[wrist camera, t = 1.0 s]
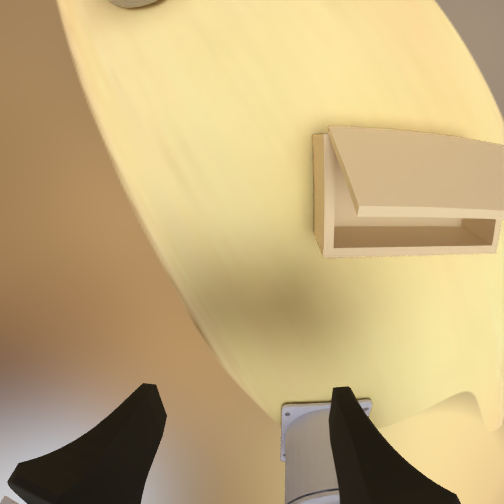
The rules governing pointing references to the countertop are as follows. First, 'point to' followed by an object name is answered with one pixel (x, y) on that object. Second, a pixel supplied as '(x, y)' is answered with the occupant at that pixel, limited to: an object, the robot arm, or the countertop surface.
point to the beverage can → (131, 3)
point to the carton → (385, 222)
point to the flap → (420, 173)
